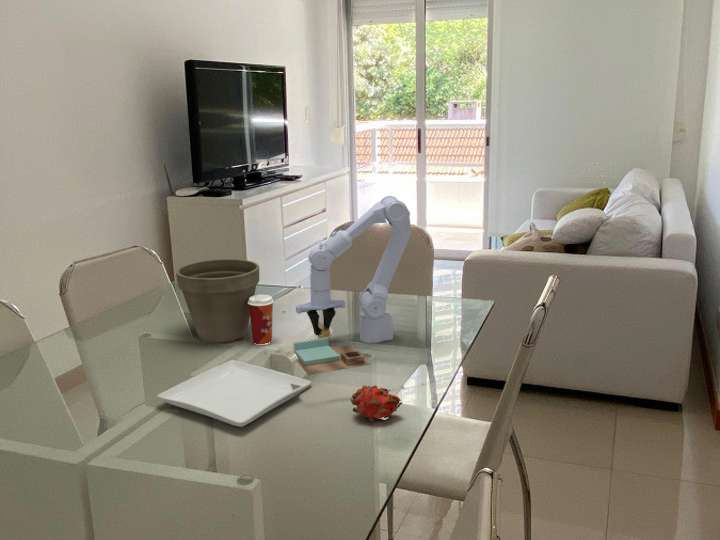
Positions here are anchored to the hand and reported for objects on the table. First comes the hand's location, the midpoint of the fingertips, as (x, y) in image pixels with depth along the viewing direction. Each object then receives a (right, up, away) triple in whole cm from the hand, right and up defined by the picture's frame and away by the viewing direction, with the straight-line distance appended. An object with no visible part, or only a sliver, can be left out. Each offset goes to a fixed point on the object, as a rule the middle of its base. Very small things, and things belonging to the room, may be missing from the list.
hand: (321, 333), depth 205 cm
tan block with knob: (0, -3, 0) cm, 3 cm away
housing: (+3, -7, -11) cm, 14 cm away
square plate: (-19, -14, -32) cm, 40 cm away
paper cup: (-18, -3, +5) cm, 19 cm away
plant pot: (-31, -2, +12) cm, 34 cm away
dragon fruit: (+15, -16, -42) cm, 47 cm away
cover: (-1, -5, -10) cm, 12 cm away
